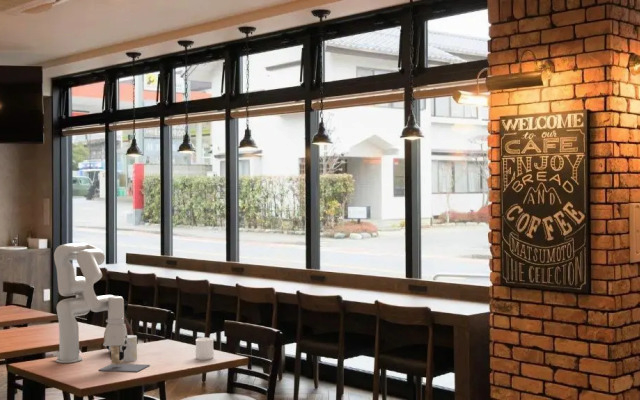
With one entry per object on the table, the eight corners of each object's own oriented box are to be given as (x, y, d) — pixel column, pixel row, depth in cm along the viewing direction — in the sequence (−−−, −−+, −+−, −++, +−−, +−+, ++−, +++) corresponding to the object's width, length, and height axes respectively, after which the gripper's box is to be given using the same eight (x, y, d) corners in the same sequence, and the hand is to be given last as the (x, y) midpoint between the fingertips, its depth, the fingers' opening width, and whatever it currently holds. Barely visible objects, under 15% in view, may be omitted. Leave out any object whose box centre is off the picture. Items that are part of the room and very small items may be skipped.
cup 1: (132, 361, 397) (132, 338, 397) (118, 361, 398) (117, 337, 398) (139, 358, 405) (139, 335, 404) (125, 358, 406) (124, 335, 406)
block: (111, 364, 381) (110, 343, 381) (115, 362, 384) (114, 342, 384) (118, 364, 380) (118, 343, 380) (122, 363, 384) (122, 342, 384)
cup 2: (201, 360, 396) (201, 341, 396) (191, 358, 404) (190, 339, 404) (217, 358, 403) (217, 339, 403) (206, 355, 410) (206, 336, 410)
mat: (98, 370, 377) (98, 369, 377) (112, 364, 390) (112, 363, 390) (137, 372, 372) (137, 371, 372) (149, 365, 386) (149, 364, 386)
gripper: (96, 322, 380) (97, 360, 380) (128, 323, 377) (129, 361, 377) (104, 320, 388) (104, 357, 388) (135, 320, 384) (136, 358, 384)
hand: (117, 359), depth 382 cm, fingers closed on block, 4 cm apart
